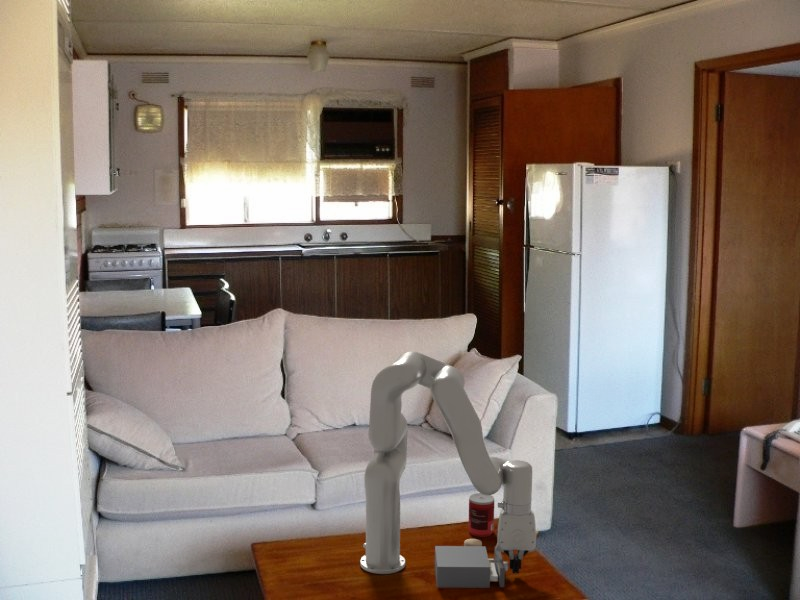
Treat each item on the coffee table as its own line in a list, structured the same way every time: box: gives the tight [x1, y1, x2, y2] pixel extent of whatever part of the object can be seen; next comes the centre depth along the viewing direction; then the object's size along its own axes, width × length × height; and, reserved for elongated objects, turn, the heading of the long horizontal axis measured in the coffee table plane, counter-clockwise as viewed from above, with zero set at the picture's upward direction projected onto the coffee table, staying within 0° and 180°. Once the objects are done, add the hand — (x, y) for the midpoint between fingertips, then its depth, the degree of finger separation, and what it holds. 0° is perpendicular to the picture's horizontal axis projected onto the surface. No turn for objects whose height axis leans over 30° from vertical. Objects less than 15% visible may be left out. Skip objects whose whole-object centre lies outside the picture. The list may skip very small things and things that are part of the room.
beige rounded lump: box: [463, 538, 483, 546], centre depth 265 cm, size 5×5×4 cm
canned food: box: [468, 492, 495, 538], centre depth 282 cm, size 8×8×11 cm
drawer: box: [488, 545, 509, 588], centre depth 253 cm, size 16×14×5 cm
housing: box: [434, 545, 491, 589], centre depth 253 cm, size 14×13×6 cm
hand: (515, 571), depth 253 cm, fingers closed
